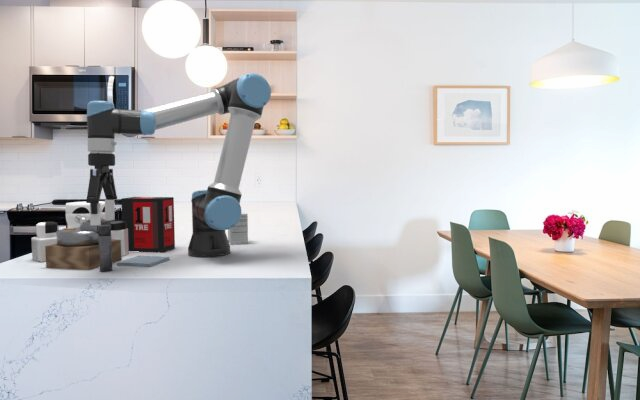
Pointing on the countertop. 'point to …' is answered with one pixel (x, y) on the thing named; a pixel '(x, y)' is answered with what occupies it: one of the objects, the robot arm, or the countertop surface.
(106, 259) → the cylinder
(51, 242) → the container
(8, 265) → the countertop surface
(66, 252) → the base
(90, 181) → the robot arm
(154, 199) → the cleaning product box
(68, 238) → the grey short round piece
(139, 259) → the mat
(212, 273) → the countertop surface
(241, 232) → the supplement box
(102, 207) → the milk container
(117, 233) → the jar
